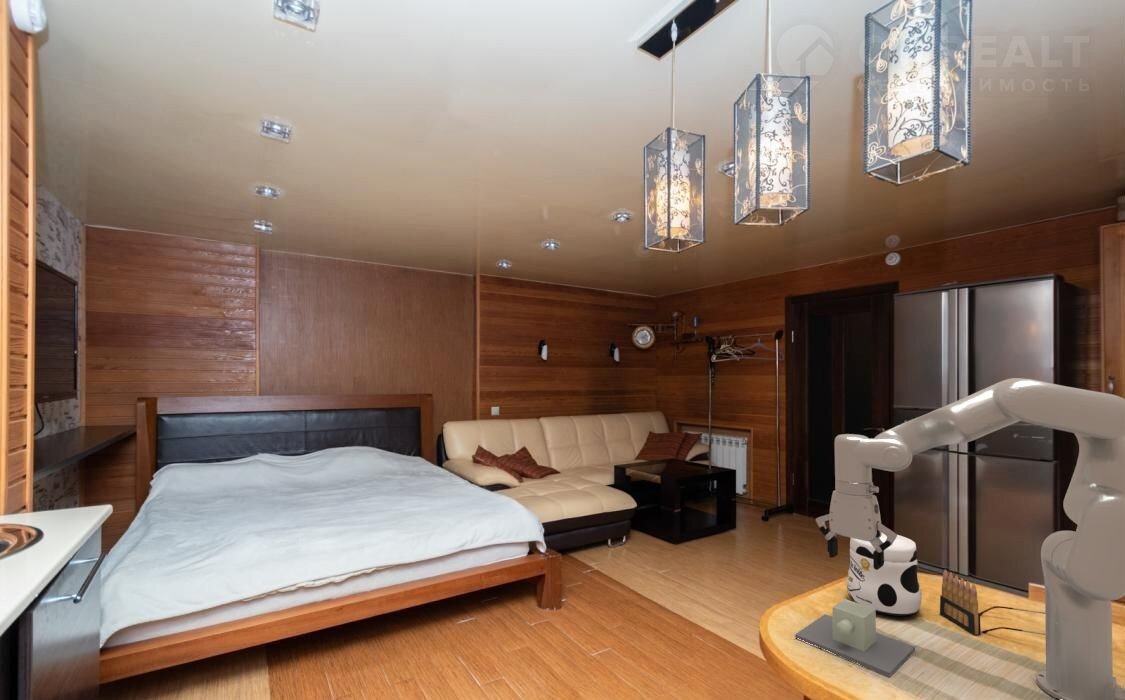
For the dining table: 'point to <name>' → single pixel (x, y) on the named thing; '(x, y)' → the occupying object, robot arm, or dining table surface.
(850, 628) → the block with round peg
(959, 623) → the ammunition clip
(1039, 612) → the sunglasses
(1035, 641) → the dining table surface
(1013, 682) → the dining table surface
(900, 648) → the board
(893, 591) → the milk container
